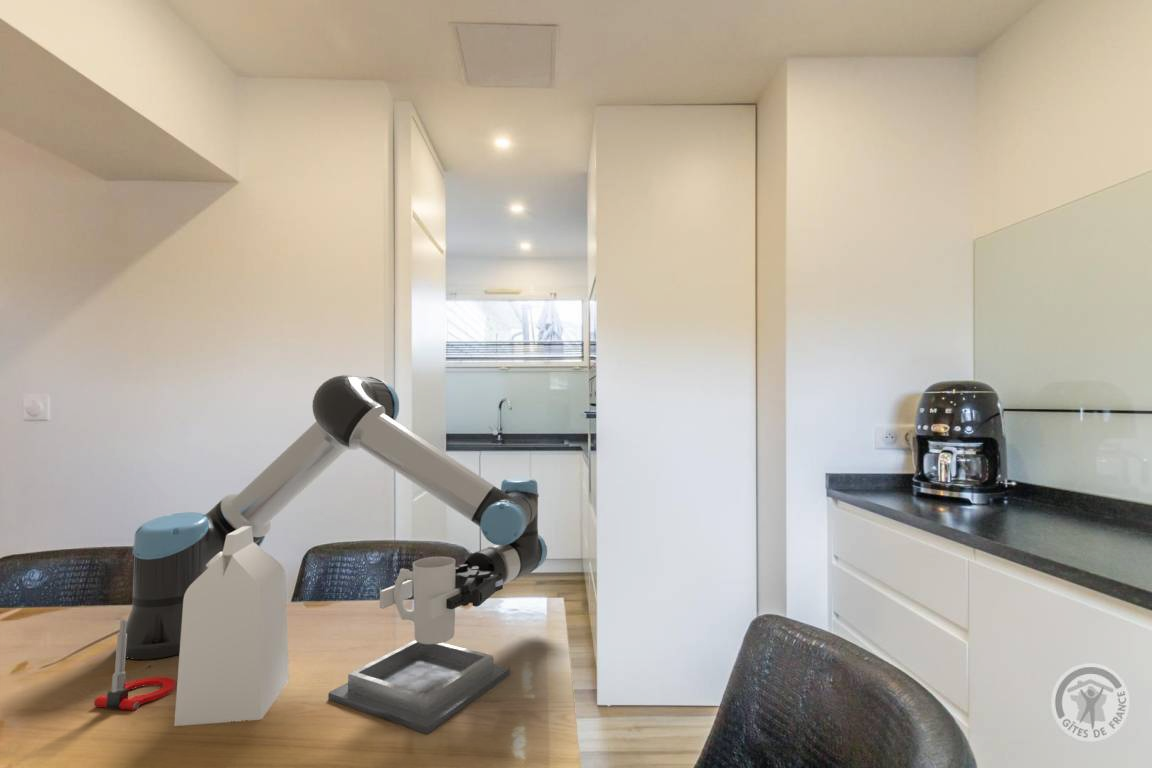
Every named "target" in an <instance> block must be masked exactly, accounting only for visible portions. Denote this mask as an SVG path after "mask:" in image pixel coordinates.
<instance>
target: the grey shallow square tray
mask: <svg viewBox="0 0 1152 768" xmlns="http://www.w3.org/2000/svg"><path fill="white" fill-rule="evenodd" d="M510 671H511V669H510V668H509V667H506V666H502V665H499V664H494V655H492V654H487V653H484V652H481V651H477V650H472V649H469V648H465V647H460V646H458V645H452V644H449V643H445V642H443V643H439V644H421V643H419V642H417V641H416V640H412V641H409V643H406V644H404V645H402V646H400V647H398V648H397V649H394V650H393V651H390V652H389V653H386V654H384V655H383V656H381V657H378V658H376V659H375V660H373V661H371V662H369V663H366V664H365V665H363V666H361V667H359V668H357V669H355V670H353V671H351V672H349V673H348V674H347V675H348V676H347V681H348V682H346V683H344V684H342V685H340V686H339V687H337V688H335V689H333V690H331V691H329V692H328V694H327V695H328V698H327V699H328V700H329V701H333V702H335V703H338V704H341V705H344V706H346V707H348V708H352V709H355V710H357V711H360V712H363V713H366V714H369V715H372V716H374V717H376V718H380V719H382V720H386V721H387V722H391V723H393V724H397V725H399V726H402V727H405V728H408V729H411V730H414V731H416V732H419V733H421V734H424V735H429V734H430V733H432V732H433V731H434V730H436V729H437V728H438V727H440V726H441V725H442V724H444V723H445V722H446V721H448V720H449V719H452V718H453V716H454V715H457V713H459V712H460V711H462V710H463V709H465V707H467V706H468V705H470V704H471V703H473V702H474V701H476V700H477V699H478V698H480V697H481V696H483V695H484V694H485V693H487V692H488V691H490V689H492V688H493V687H494V686H496V685H498V684H499V683H500V682H501V681H503V680H505V678H508V676H510V673H511V672H510Z"/></svg>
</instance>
